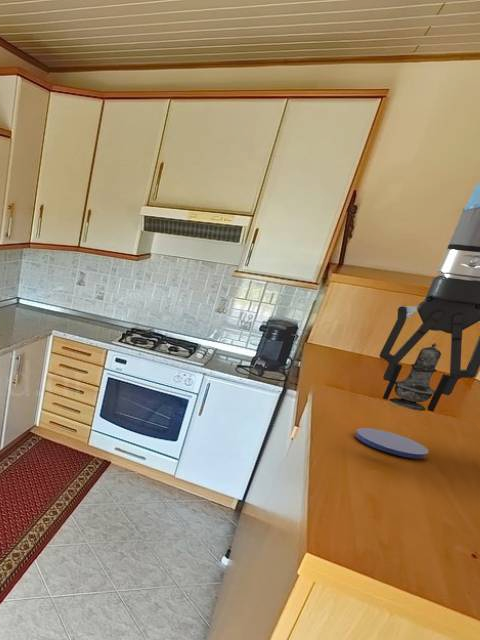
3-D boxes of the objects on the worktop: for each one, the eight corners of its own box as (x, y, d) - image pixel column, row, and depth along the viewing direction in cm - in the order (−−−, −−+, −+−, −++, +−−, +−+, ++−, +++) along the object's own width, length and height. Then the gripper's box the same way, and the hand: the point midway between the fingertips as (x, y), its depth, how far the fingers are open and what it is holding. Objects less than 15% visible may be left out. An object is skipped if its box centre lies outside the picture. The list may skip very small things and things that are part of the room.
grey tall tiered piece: (403, 399, 94) (430, 339, 90) (435, 411, 89) (466, 348, 85) (378, 398, 93) (405, 337, 89) (409, 410, 88) (439, 346, 83)
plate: (441, 462, 98) (444, 456, 98) (386, 458, 97) (389, 452, 97) (390, 436, 110) (393, 430, 109) (340, 432, 109) (343, 426, 108)
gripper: (393, 269, 86) (344, 391, 94) (549, 289, 74) (478, 426, 82) (395, 268, 91) (348, 384, 99) (540, 287, 80) (474, 416, 88)
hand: (407, 403), depth 91 cm, fingers closed on grey tall tiered piece, 6 cm apart
